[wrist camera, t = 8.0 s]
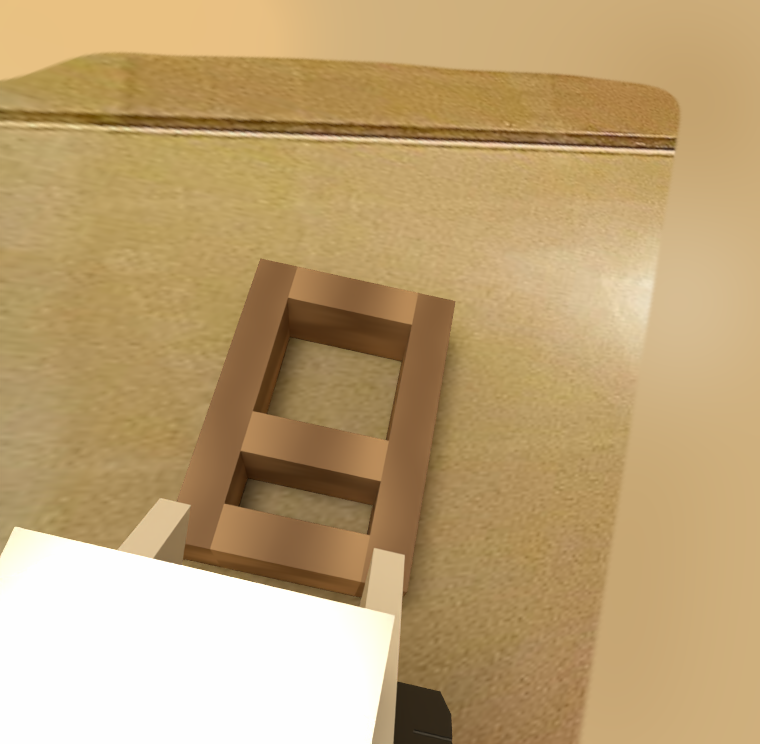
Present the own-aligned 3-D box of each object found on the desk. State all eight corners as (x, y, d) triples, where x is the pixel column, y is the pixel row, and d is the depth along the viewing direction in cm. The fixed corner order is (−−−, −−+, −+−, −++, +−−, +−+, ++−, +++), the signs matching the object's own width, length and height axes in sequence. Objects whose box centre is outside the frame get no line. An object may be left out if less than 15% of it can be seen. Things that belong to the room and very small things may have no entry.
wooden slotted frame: (179, 557, 31) (163, 538, 28) (264, 300, 38) (260, 258, 35) (395, 605, 31) (407, 592, 28) (441, 338, 38) (455, 301, 35)
